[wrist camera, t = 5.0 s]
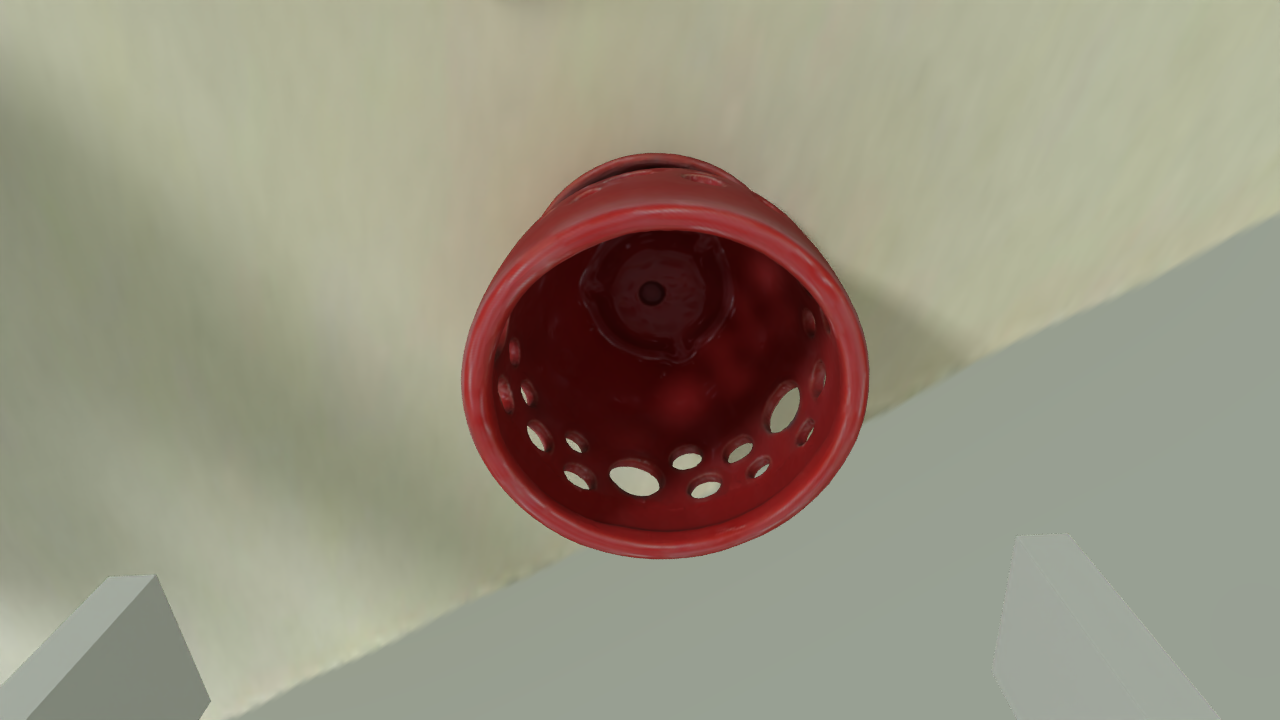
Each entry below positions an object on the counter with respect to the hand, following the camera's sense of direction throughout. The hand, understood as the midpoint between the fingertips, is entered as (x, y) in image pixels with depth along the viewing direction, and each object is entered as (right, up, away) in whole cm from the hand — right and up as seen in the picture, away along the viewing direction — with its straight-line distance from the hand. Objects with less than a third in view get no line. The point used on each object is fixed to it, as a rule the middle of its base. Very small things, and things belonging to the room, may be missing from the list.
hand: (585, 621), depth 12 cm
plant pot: (+2, +8, +22) cm, 24 cm away
